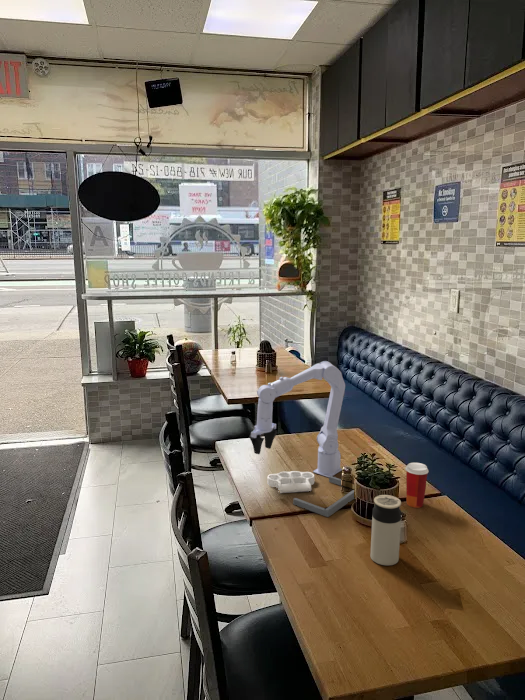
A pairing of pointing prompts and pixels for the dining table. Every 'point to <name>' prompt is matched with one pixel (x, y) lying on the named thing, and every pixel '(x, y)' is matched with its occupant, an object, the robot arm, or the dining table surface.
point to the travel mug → (386, 530)
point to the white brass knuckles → (291, 481)
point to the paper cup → (416, 484)
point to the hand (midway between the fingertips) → (262, 450)
